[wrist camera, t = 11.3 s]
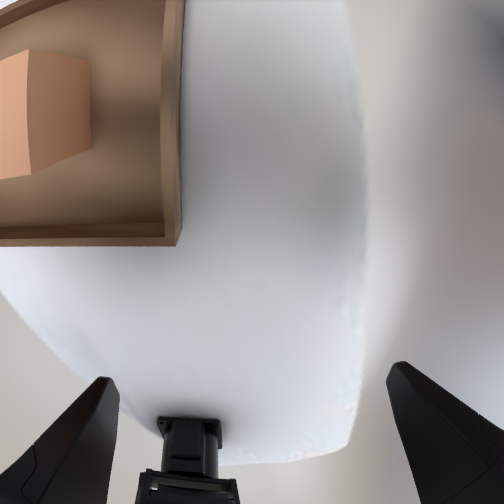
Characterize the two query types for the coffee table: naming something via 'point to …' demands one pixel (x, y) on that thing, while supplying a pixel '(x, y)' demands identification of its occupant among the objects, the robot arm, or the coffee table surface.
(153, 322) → the coffee table surface
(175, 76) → the walnut tray
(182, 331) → the coffee table surface
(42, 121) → the terracotta block
